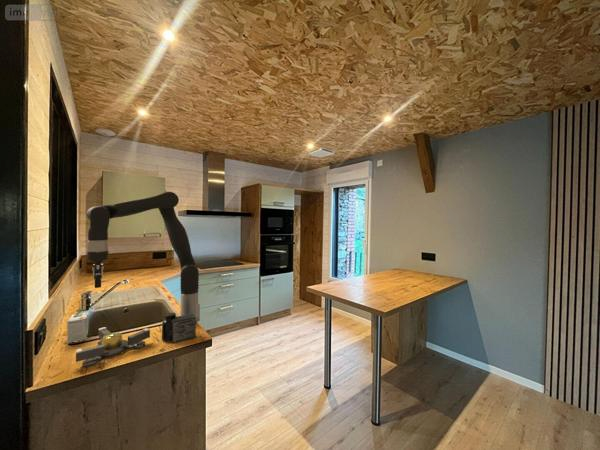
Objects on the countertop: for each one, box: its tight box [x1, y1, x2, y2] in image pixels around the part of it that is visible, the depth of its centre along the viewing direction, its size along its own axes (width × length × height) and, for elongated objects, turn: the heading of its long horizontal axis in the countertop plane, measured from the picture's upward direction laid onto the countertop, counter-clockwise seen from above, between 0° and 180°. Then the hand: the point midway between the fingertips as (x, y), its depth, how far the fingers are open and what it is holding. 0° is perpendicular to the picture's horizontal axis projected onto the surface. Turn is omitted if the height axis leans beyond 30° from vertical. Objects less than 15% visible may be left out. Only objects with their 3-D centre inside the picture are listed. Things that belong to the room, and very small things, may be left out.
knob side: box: [98, 326, 112, 342], centre depth 114 cm, size 9×2×5 cm, turn 54°
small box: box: [171, 314, 197, 344], centre depth 120 cm, size 11×6×10 cm, turn 124°
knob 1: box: [75, 344, 104, 363], centre depth 98 cm, size 9×2×5 cm, turn 129°
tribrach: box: [81, 332, 146, 368], centre depth 108 cm, size 22×21×7 cm
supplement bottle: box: [161, 312, 177, 342], centre depth 120 cm, size 7×7×12 cm
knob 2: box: [127, 327, 151, 345], centre depth 112 cm, size 9×2×5 cm, turn 158°
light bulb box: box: [66, 311, 89, 345], centre depth 119 cm, size 11×7×11 cm, turn 35°
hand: (98, 285), depth 111 cm, fingers open, 8 cm apart
